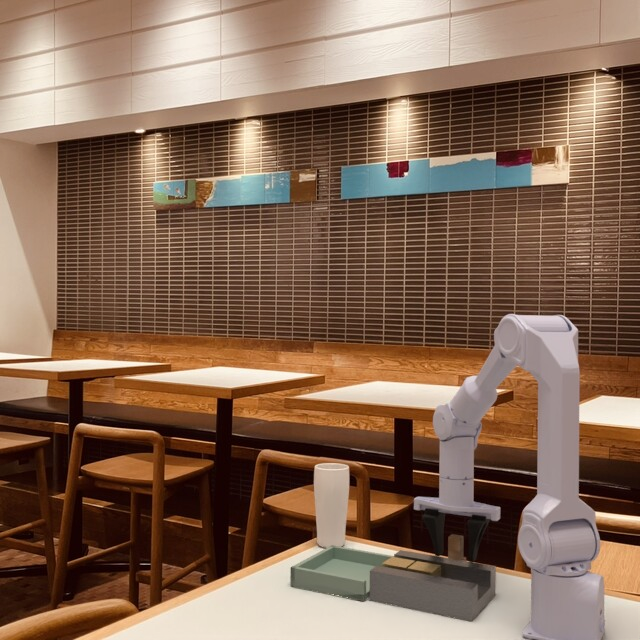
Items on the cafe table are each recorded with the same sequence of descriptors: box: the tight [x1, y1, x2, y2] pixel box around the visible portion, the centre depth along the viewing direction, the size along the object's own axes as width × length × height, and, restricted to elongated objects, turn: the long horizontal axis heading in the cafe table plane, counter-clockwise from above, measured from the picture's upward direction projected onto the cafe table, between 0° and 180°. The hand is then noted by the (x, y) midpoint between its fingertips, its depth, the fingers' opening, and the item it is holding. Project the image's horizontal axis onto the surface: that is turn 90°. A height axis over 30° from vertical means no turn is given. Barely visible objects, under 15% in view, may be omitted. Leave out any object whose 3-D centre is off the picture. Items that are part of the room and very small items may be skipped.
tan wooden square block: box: [382, 557, 415, 571], centre depth 117 cm, size 4×4×2 cm
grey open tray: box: [369, 549, 497, 622], centre depth 114 cm, size 16×12×4 cm
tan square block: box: [407, 561, 441, 577], centre depth 115 cm, size 4×4×2 cm
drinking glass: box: [313, 462, 350, 549], centre depth 141 cm, size 7×7×15 cm
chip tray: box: [289, 545, 394, 602], centre depth 121 cm, size 13×14×3 cm
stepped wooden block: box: [447, 533, 467, 561], centre depth 125 cm, size 2×5×6 cm, turn 151°
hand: (455, 557), depth 125 cm, fingers open, 5 cm apart
